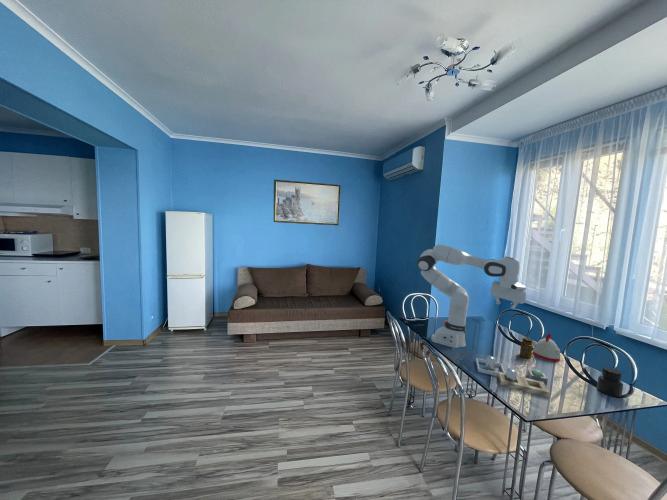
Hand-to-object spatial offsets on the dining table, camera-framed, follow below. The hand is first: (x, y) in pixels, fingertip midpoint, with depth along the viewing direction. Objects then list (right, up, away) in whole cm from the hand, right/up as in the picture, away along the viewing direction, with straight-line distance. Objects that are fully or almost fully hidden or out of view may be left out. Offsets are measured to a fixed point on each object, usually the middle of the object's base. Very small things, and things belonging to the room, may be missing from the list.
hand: (505, 306), depth 161 cm
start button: (+6, -34, -18) cm, 39 cm away
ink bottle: (+37, -39, -24) cm, 59 cm away
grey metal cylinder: (-14, -34, -9) cm, 38 cm away
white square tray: (-14, -35, -9) cm, 38 cm away
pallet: (-7, -36, -24) cm, 44 cm away
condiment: (+19, -35, +10) cm, 41 cm away
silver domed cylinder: (-11, -35, -22) cm, 43 cm away
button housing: (+6, -36, -17) cm, 41 cm away
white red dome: (+35, -35, +14) cm, 52 cm away
